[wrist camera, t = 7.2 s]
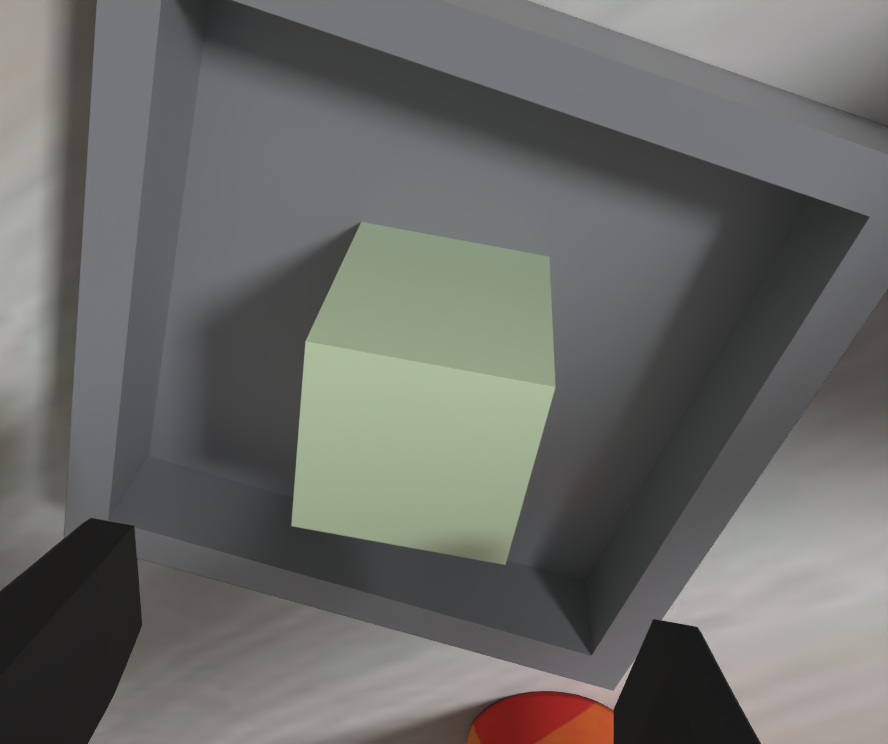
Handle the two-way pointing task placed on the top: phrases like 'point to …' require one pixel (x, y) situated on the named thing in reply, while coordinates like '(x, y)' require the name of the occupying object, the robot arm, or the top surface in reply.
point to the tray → (468, 219)
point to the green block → (425, 394)
